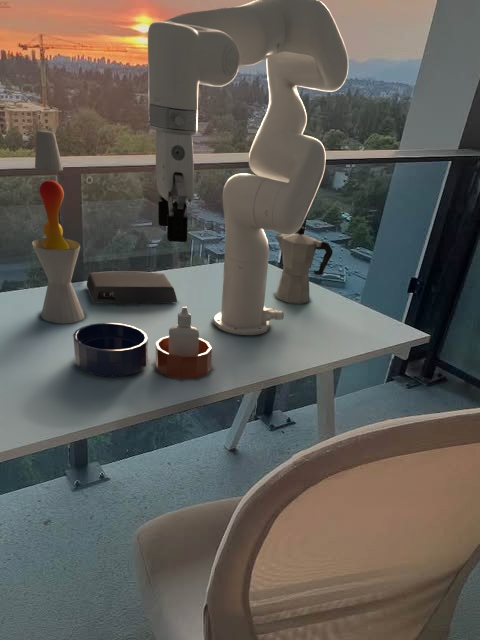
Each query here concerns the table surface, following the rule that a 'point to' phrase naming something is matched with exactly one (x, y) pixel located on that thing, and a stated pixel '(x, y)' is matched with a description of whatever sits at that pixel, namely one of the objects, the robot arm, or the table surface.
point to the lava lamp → (55, 240)
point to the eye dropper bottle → (184, 336)
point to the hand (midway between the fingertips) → (172, 233)
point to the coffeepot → (299, 265)
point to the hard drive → (130, 287)
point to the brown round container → (183, 361)
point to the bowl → (110, 349)
